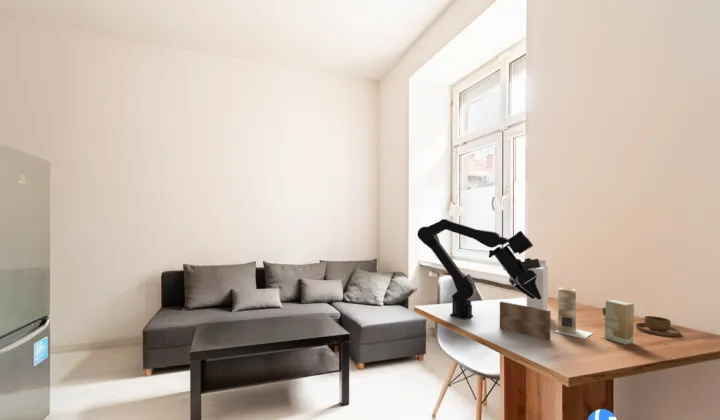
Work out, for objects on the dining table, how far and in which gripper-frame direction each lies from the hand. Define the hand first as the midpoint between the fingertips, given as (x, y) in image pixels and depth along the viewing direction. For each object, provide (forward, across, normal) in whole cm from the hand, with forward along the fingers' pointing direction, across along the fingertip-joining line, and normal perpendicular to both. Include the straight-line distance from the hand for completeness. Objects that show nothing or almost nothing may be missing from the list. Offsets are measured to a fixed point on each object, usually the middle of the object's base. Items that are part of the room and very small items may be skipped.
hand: (536, 298), depth 125 cm
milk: (+8, +18, +1) cm, 19 cm away
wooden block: (+13, -1, -1) cm, 13 cm away
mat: (+14, -2, -3) cm, 15 cm away
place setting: (+29, +12, -25) cm, 40 cm away
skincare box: (+22, -7, -11) cm, 25 cm away
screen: (+6, -8, +12) cm, 16 cm away
